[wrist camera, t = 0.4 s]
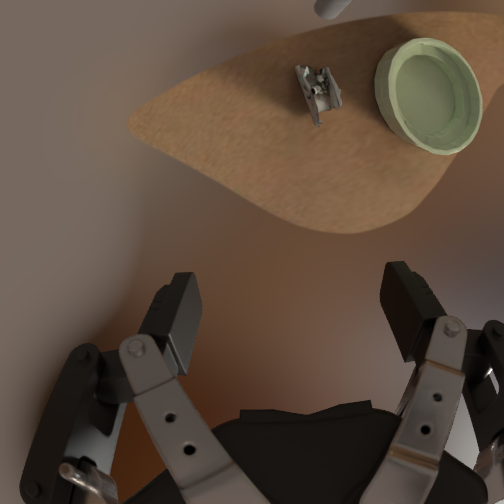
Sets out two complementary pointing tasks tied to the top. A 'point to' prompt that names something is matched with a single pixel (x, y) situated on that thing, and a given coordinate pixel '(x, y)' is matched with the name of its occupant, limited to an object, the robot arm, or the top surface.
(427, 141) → the bowl
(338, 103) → the crumpled paper
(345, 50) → the top surface
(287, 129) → the top surface
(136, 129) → the top surface
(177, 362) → the robot arm
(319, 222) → the top surface
